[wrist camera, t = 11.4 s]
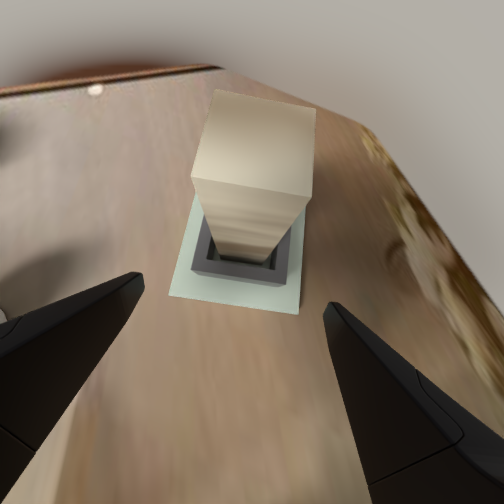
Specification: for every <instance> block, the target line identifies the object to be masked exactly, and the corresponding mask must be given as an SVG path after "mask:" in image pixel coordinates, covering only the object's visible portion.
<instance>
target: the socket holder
mask: <svg viewBox="0 0 504 504" xmlns="http://www.w3.org/2000/svg"><path fill="white" fill-rule="evenodd" d="M305 210H306V206H305V207H304V209H303V210H302V211H301V213H300V214H299V215H298V217H297V218H296V219H295V221H294V222H293V224H292V225H291V226H290V228H289V229H288V230H287V232H286V233H285V234H284V236H283V237H282V238H281V240H280V241H279V242H278V244H277V245H276V247H275V248H274V249H273V251H272V252H271V253H270V255H269V256H268V257H267V259H266V260H265V261H264V263H263V264H262V265H261V266H260V265H254V264H247V263H240V262H234V261H227V260H221V259H220V256H219V253H218V251H217V248H216V245H215V242H214V240H213V237H212V234H211V231H210V229H209V226H208V223H207V220H206V218H205V215H204V212H203V209H202V207H201V204H200V201H199V198H198V196H197V193H195V197H194V201H193V204H192V208H191V212H190V216H189V219H188V223H187V227H186V231H185V234H184V238H183V242H182V246H181V249H180V253H179V257H178V261H177V264H176V268H175V272H174V276H173V279H172V283H171V287H170V291H169V294H168V295H169V296H175V297H182V298H189V299H196V300H202V301H209V302H216V303H222V304H229V305H236V306H243V307H249V308H256V309H263V310H269V311H276V312H283V313H290V314H296V315H298V312H299V298H300V283H301V269H302V254H303V239H304V225H305Z"/></svg>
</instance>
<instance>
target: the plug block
mask: <svg viewBox="0 0 504 504" xmlns="http://www.w3.org/2000/svg"><path fill="white" fill-rule="evenodd" d="M315 121H316V109H313V108H308V107H303V106H298V105H293V104H288V103H283V102H278V101H273V100H268V99H263V98H258V97H253V96H248V95H243V94H238V93H233V92H228V91H223V90H218V89H214V93H213V96H212V100H211V104H210V107H209V111H208V115H207V118H206V122H205V126H204V129H203V133H202V137H201V140H200V144H199V147H198V151H197V155H196V158H195V162H194V166H193V169H192V173H191V179H192V182H193V185H194V187H195V190H196V193H197V196H198V198H199V201H200V204H201V207H202V209H203V212H204V215H205V218H206V220H207V223H208V226H209V229H210V231H211V234H212V237H213V240H214V242H215V245H216V248H217V251H218V253H219V256H220V259H221V260H227V261H234V262H240V263H247V264H254V265H260V266H261V265H262V264H263V263H264V261H265V260H266V259H267V257H268V256H269V255H270V253H271V252H272V251H273V249H274V248H275V247H276V245H277V244H278V242H279V241H280V240H281V238H282V237H283V236H284V234H285V233H286V232H287V230H288V229H289V228H290V226H291V225H292V224H293V222H294V221H295V219H296V218H297V217H298V215H299V214H300V213H301V211H302V210H303V209H304V207H305V206H306V205H307V203H308V202H309V201H310V199H311V198H312V182H313V162H314V142H315Z"/></svg>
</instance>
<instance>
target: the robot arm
mask: <svg viewBox="0 0 504 504" xmlns="http://www.w3.org/2000/svg"><path fill="white" fill-rule="evenodd" d="M144 289H145V285H144V279H143V274H142V273H140V272H129V273H127V274H124V275H122V276H119V277H117V278H114V279H112V280H109V281H107V282H104V283H102V284H99V285H97V286H94V287H92V288H89V289H87V290H84V291H82V292H79V293H77V294H74V295H72V296H69V297H67V298H64V299H62V300H59V301H57V302H54V303H52V304H49V305H47V306H44V307H42V308H39V309H37V310H34V311H32V312H29V313H27V314H25V315H24V316H19V317H17V318H14V319H12V320H9V321H7V322H4V323H1V324H0V504H1V503H2V501H3V500H4V499H5V497H6V496H7V494H8V493H9V491H10V490H11V488H12V487H13V486H14V484H15V483H16V481H17V480H18V478H19V477H20V475H21V474H22V473H23V471H24V470H25V468H26V467H27V465H28V464H29V462H30V461H31V460H32V458H33V457H34V455H35V454H36V451H37V450H38V449H39V448H40V446H41V445H42V443H43V442H44V440H45V439H46V438H47V436H48V435H49V433H50V432H51V430H52V429H53V428H54V426H55V425H56V423H57V422H58V420H59V419H60V417H61V416H62V415H63V413H64V412H65V410H66V409H67V407H68V406H69V404H70V403H71V402H72V400H73V399H74V397H75V396H76V394H77V393H78V391H79V390H80V389H81V387H82V386H83V384H84V383H85V381H86V380H87V378H88V377H89V376H90V374H91V373H92V371H93V370H94V368H95V367H96V365H97V364H98V363H99V361H100V360H101V358H102V357H103V355H104V354H105V352H106V351H107V350H108V348H109V347H110V345H111V344H112V342H113V341H114V339H115V338H116V337H117V335H118V334H119V332H120V331H121V329H122V328H123V326H124V325H125V324H126V322H127V320H128V319H129V317H130V315H131V313H132V312H133V310H134V308H135V306H136V304H137V303H138V301H139V299H140V297H141V295H142V293H143V292H144ZM323 320H324V326H325V332H326V337H327V343H328V348H329V352H330V355H331V359H332V362H333V366H334V370H335V373H336V377H337V380H338V384H339V387H340V391H341V394H342V398H343V401H344V405H345V408H346V412H347V415H348V419H349V422H350V426H351V429H352V433H353V436H354V440H355V443H356V447H357V450H358V454H359V457H360V461H361V464H362V468H363V471H364V475H365V479H366V482H367V485H368V490H369V493H370V497H371V500H372V504H504V439H503V438H502V437H500V436H499V435H498V434H496V433H495V432H494V431H493V430H491V429H490V428H489V427H488V426H486V425H485V424H484V423H482V422H481V421H480V420H479V419H477V418H476V417H475V416H473V415H472V414H471V413H470V412H468V411H467V410H466V409H465V408H463V407H462V406H461V405H460V404H458V403H457V402H456V401H455V400H453V399H452V398H451V397H450V396H448V395H447V394H446V393H445V392H443V391H442V390H441V389H440V388H439V387H437V386H436V385H435V384H434V383H433V382H431V381H430V380H429V379H428V378H427V377H425V376H424V375H423V374H422V373H421V372H420V371H418V370H417V369H415V367H414V366H412V365H411V364H410V363H409V362H408V361H407V360H405V359H404V358H403V357H402V356H401V355H400V354H398V353H397V352H396V351H395V350H394V349H393V348H391V347H390V346H389V345H388V344H387V343H385V342H384V341H383V340H382V339H381V338H380V337H378V336H377V335H376V334H375V333H374V332H373V331H371V330H370V329H369V328H368V327H367V326H366V325H364V324H363V323H362V322H361V321H360V320H359V319H357V318H356V317H355V316H354V315H353V314H351V313H350V312H349V311H348V310H347V309H346V308H344V307H343V306H342V305H341V304H340V303H338V302H329V303H328V305H327V307H326V309H325V311H324V313H323Z"/></svg>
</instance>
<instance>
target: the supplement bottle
mask: <svg viewBox="0 0 504 504" xmlns="http://www.w3.org/2000/svg"><path fill="white" fill-rule="evenodd" d="M4 322H7V319H6V317H5V314H4V312H3V311H2V310H1V309H0V324H1V323H4Z"/></svg>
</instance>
